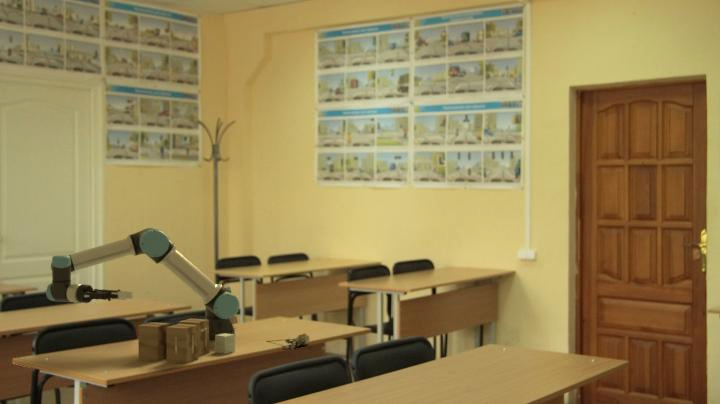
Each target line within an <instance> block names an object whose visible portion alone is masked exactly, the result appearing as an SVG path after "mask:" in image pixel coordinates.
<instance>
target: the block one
mask: <svg viewBox="0 0 720 404" xmlns="http://www.w3.org/2000/svg"><path fill="white" fill-rule="evenodd" d="M166 336H167V359H166V363H171V364H185V365H186V364H190V363H193V362H196V361H198V360H199V357H198V325H191V324H179V323H177V324H174V325H170V326H169V327H166Z"/></svg>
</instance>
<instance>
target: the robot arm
mask: <svg viewBox="0 0 720 404" xmlns="http://www.w3.org/2000/svg"><path fill="white" fill-rule="evenodd" d="M176 248H177V247H176V243H175V242H174V241H173V240H171V239H170V238H169V237H168V236H167V234H166V233H165V232H164V231H162V230H160V229H158V228H153V227H148V228H144V229H141V230H140V231H137V232H135V233H131V234H128V235H127V237H126V238H123V239H119V240H115V241H113V242H108V243H105V244H102V245H99V246H95V247H92V248H88V249H85V250H82V251H77V252H74V253H70V254H57V255H53V256H52V258H51V264H50V270H51V276H52V277H51V279H52V281H51V283H49V284H48V285H47V287H46V290H45V295H46V298H47V299H48V300H50V301H52V302H58V303H59V302H61V303H62V302H64V303H65V302H66V303H73V304H75V305H76V304H77V303H80V304H81V303H82V304H88V303H90V302H92V300H104V301H106V300H107V301H108V302H110V301H111V300H121V301H126V300H127V299H133V291H124V290H121V289H115V290H114V289H99V288H93V287H92V285H91V284H80V283H78V284H77V283H72V280H71V277H72V272H76V271H80V270H83V269H86V268H91V267H93V266H94V267H95V266H97V265H100V264H103V263H107V262H110V261H114V260H117V259H121V258H125V257H127V256H133V257H135V256H139V255H146V256H147V257H148V258H149V259H151V260H152V261H153V262H154V263H155V264H156V265H163V266H164V267H165V268H166V269H168V270H169V271H170V272H171V273H172V274H174V275H175V276H176V277H177V278H178V279H179V280H180V281H182V282H183V284H185V285H187V287H188V288H189V289H191V290H192V291H193V292H194V293H195V294H197V295H198V296H199V298H201V299H202V305H204V307H205V319H207V320H209V340H215V335H219V334H224V333H226V334H234V335H235V336H236V332H235V327H234V324H232V321H231V318H232V317H234V316H237V314H238V313H239V311H240V301H239V299H238V297H237V296H236V294H234V293H232V289H231V286H224V285H223V284H222V283H215V282H214V281H213V280H212V279H210V277H208V276H207V275H206V274H205V273H204V272H202V271H201V270H200V269H199V268H198V267H197V266H196V265H194V264H193V262H191V261H190V260H188V258H186V257H185V256H184V255H183V254H182V253H181V252H180V251H178V250H177V249H176Z"/></svg>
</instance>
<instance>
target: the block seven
mask: <svg viewBox="0 0 720 404" xmlns="http://www.w3.org/2000/svg"><path fill="white" fill-rule="evenodd" d="M178 324H191V325H198V358H199V357H201V356H205V355H208V354H209V353H210V339H209V320H207V319H206V318H205V319H202V318H187V319H183V320H180V321H178Z"/></svg>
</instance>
